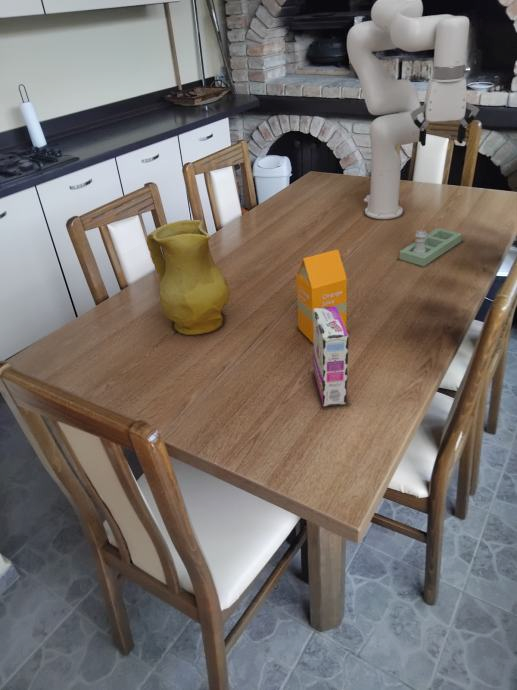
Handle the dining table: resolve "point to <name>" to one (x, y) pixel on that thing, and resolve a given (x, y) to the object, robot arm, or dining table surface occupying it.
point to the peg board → (432, 246)
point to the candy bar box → (330, 355)
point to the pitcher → (188, 277)
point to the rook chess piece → (420, 242)
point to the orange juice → (320, 288)
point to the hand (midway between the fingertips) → (441, 143)
